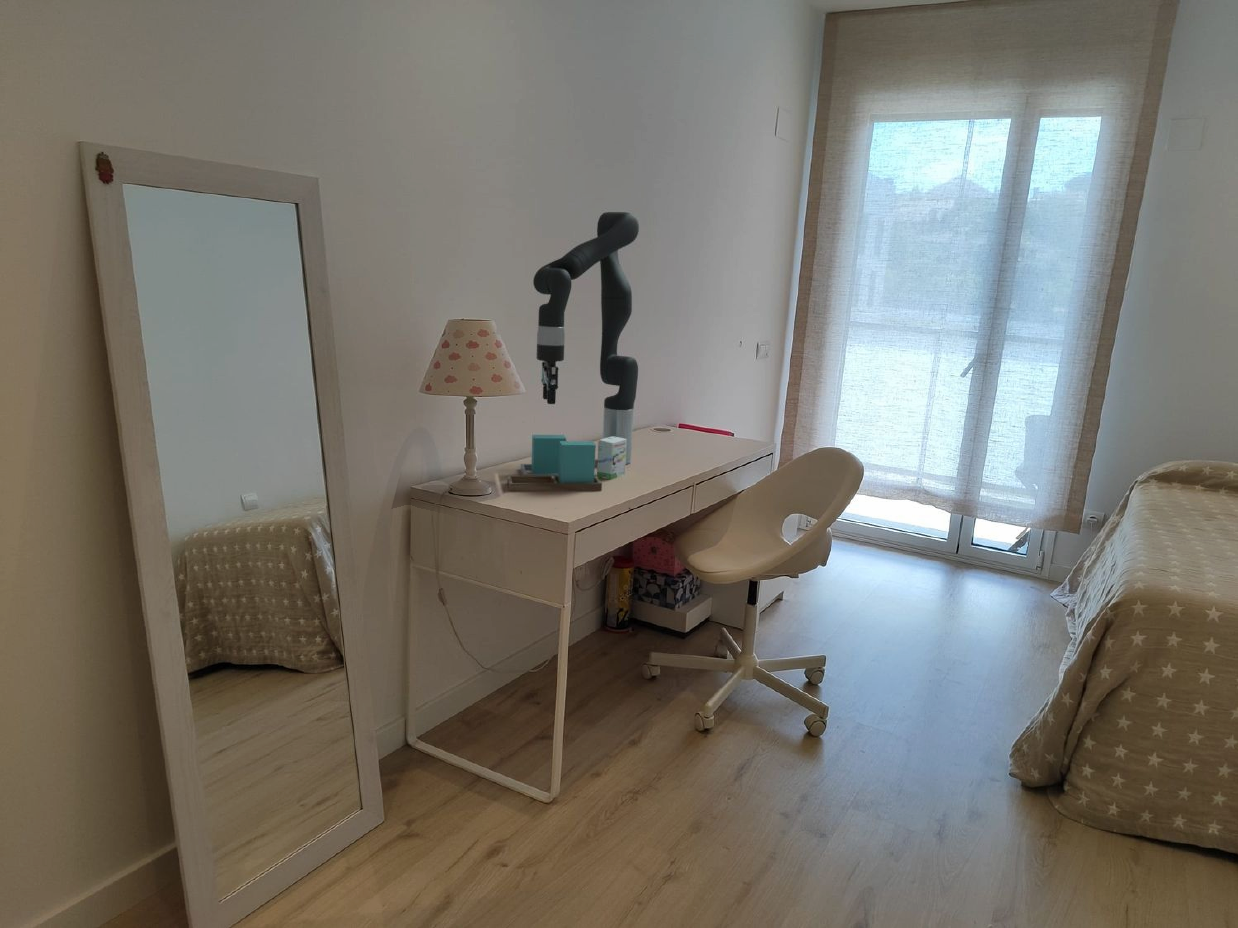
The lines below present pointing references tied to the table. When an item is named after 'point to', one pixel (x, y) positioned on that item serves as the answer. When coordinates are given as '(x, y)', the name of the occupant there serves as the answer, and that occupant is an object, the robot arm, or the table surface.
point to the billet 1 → (545, 453)
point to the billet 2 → (576, 462)
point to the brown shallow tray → (549, 484)
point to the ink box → (611, 457)
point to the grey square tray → (528, 467)
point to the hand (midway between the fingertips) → (548, 401)
